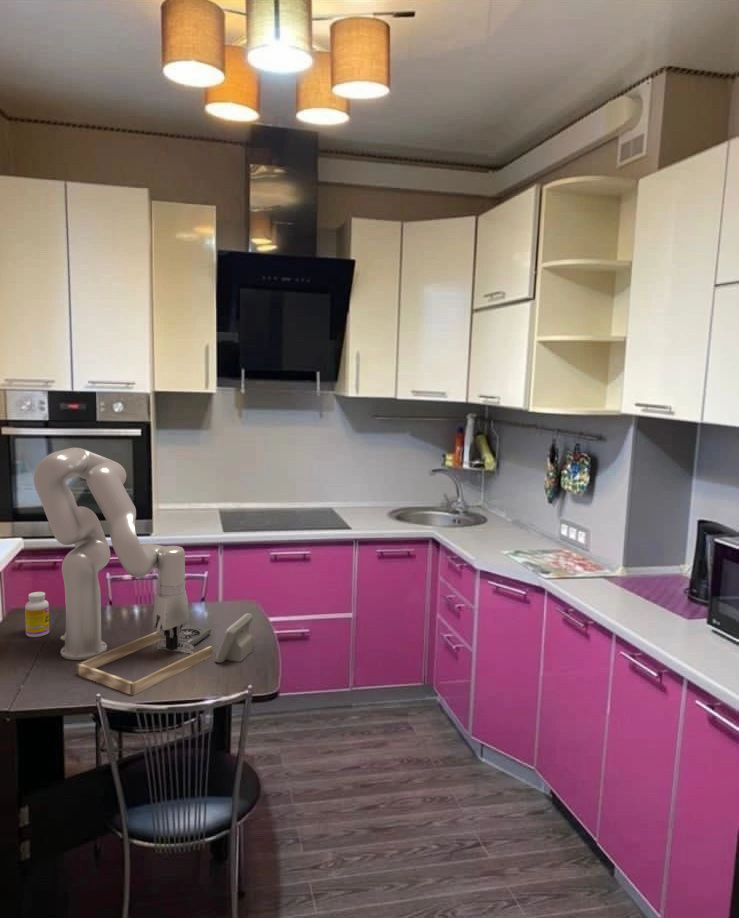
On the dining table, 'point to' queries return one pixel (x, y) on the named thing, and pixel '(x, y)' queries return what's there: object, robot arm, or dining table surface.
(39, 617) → the supplement bottle
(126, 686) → the wooden u-shaped frame
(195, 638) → the graphics card
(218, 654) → the digital clock
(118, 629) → the dining table surface
